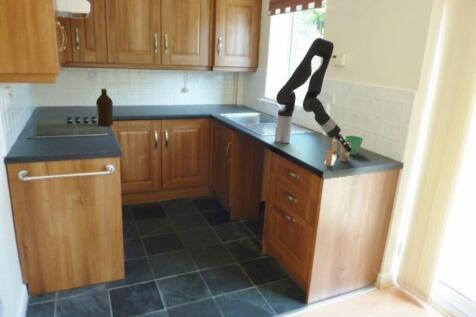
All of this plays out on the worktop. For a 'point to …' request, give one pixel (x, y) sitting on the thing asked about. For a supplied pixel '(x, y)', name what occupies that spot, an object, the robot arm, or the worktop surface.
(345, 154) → the brown upright block
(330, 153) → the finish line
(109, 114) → the olive oil
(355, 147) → the mug
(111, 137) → the worktop surface
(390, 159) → the worktop surface
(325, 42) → the robot arm
